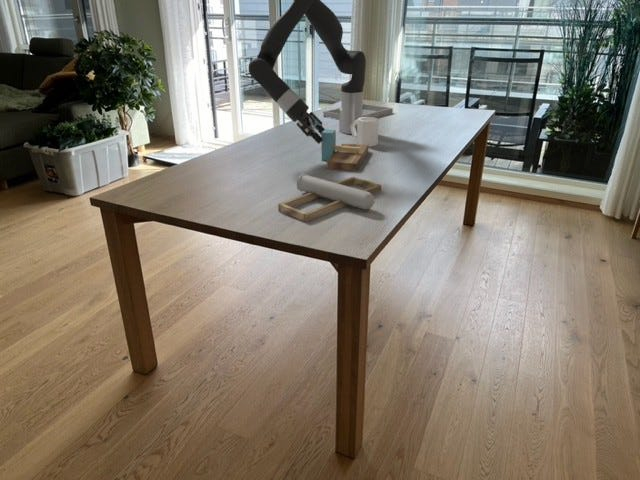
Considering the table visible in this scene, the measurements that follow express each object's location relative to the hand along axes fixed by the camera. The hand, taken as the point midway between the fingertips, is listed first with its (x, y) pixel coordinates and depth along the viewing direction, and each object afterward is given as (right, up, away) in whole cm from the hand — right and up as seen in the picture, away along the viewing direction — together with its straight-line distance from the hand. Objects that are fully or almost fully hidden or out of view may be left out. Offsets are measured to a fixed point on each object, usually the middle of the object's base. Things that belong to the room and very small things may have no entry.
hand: (324, 139), depth 171 cm
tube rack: (+2, -25, -34) cm, 43 cm away
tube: (+3, -25, -35) cm, 44 cm away
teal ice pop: (+6, -7, +2) cm, 10 cm away
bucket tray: (+18, +27, +70) cm, 77 cm away
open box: (+9, -7, +1) cm, 12 cm away
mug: (+16, +3, +21) cm, 27 cm away
